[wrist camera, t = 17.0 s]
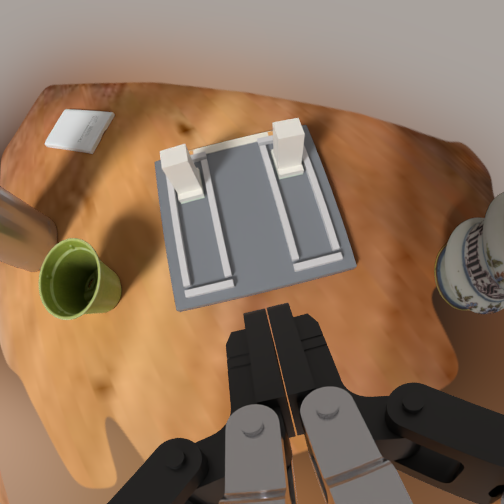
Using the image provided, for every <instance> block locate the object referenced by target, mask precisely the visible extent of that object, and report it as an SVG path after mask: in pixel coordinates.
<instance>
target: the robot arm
mask: <svg viewBox="0 0 504 504" xmlns="http://www.w3.org/2000/svg"><path fill="white" fill-rule="evenodd" d="M56 244H57V229H56V226H55V224H54V222H53V221H52V220H51V219H50V218H48V217H47V216H45V215H44V214H42V213H41V212H39V211H37V210H36V209H34V208H33V207H31V206H30V205H28V204H27V203H25V202H24V201H22V200H21V199H19V198H17V197H16V196H14V195H13V194H11V193H10V192H8V191H7V190H5V189H4V188H2V187H1V186H0V261H1V262H4V263H6V264H9V265H12V266H14V267H17V268H21V269H24V270H27V271H30V272H36V271H39V270H41V267H42V264H43V262H44V260H45V258H46V256H47V254H48V253H49V252H50V250H51V249H52V248H53V247H54V246H55V245H56ZM267 311H268V315H269V319H270V324H271V328H272V332H273V336H274V340H275V345H276V349H277V353H278V357H279V361H280V366H281V370H282V374H283V378H284V382H285V387H286V391H287V395H288V399H289V403H290V407H291V411H292V415H293V419H294V423H295V427H296V431H297V435H302V434H304V435H305V439H306V443H307V447H308V451H309V456H310V459H311V462H312V465H313V467H314V470H315V473H316V476H317V479H318V482H319V484H320V487H321V490H322V493H323V496H324V498H325V501H326V504H413V503H412V501H411V499H410V497H409V495H408V493H407V491H406V489H405V487H404V485H403V483H402V480H401V479H400V476H399V474H398V472H397V471H396V469H397V470H399V471H402V472H404V473H406V474H408V475H410V476H412V477H414V478H417V479H419V480H421V481H423V482H425V483H428V484H430V485H432V486H435V487H437V488H440V489H442V490H444V491H447V492H449V493H451V494H454V495H456V496H459V497H462V498H464V499H467V500H469V501H472V502H475V503H478V504H504V415H502V414H500V413H497V412H494V411H491V410H489V409H486V408H483V407H481V406H478V405H475V404H472V403H470V402H467V401H465V400H462V399H459V398H457V397H454V396H451V395H449V394H446V393H444V392H442V391H439V390H436V389H434V388H431V387H429V386H427V385H424V384H421V383H407V384H403V385H401V386H399V387H398V388H396V389H395V390H394V391H393V392H392V393H391V394H390V396H379V397H364V396H359V395H356V394H354V393H352V392H351V391H349V390H348V389H347V388H346V387H345V386H344V385H343V383H342V381H341V379H340V376H339V373H338V371H337V368H336V366H335V363H334V361H333V358H332V356H331V353H330V351H329V348H328V346H327V343H326V341H325V338H324V336H323V334H322V331H321V329H320V326H319V324H318V322H317V321H316V320H315V319H313V318H312V317H311V316H310V315H309V314H304V315H300V316H296V317H293V316H292V312H291V309H290V306H289V304H288V303H284V304H280V305H276V306H272V307H268V308H267ZM244 322H245V329H244V330H239V331H235V332H231V334H230V337H229V339H228V341H227V344H226V352H227V365H228V378H229V390H230V402H231V414H230V417H229V419H228V421H227V423H226V425H225V426H224V427H223V428H222V429H221V430H220V431H218V432H217V433H216V434H214V435H212V436H210V437H207V438H205V439H203V440H201V441H198V442H196V443H194V442H192V441H190V440H188V439H184V438H175V439H170V440H168V441H166V442H164V443H162V444H161V445H160V446H159V447H158V448H157V449H156V450H155V451H154V452H153V453H152V455H151V456H150V457H149V458H148V459H147V460H146V461H145V463H144V464H143V465H142V466H141V467H140V468H139V469H138V470H137V472H136V473H135V474H134V475H133V476H132V477H131V478H130V479H129V480H128V482H127V483H126V484H125V485H124V486H123V487H122V488H121V489H120V490H119V491H118V493H117V494H116V495H115V496H114V497H113V498H112V499H111V500H110V501H109V502H108V503H107V504H297V496H296V487H295V480H294V471H293V463H292V450H291V445H290V440H289V438H290V437H294V436H295V431H294V427H293V423H292V419H291V414H290V410H289V406H288V402H287V397H286V393H285V389H284V384H283V380H282V376H281V372H280V367H279V363H278V359H277V355H276V350H275V346H274V342H273V338H272V334H271V330H270V326H269V323H268V319H267V315H266V311H265V309H261V310H256V311H252V312H248V313H244Z"/></svg>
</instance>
